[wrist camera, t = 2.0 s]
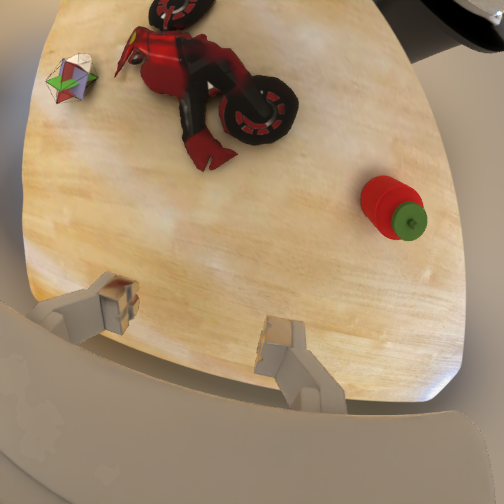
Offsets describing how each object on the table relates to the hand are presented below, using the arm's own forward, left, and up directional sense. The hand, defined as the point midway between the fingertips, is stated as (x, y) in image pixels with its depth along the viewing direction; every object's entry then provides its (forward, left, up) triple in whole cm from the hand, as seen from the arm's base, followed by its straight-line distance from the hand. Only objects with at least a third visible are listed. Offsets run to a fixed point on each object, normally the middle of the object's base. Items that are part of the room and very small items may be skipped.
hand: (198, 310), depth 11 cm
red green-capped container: (-10, +12, -23) cm, 28 cm away
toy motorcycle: (-6, -15, -23) cm, 28 cm away
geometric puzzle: (+3, -29, -23) cm, 37 cm away
